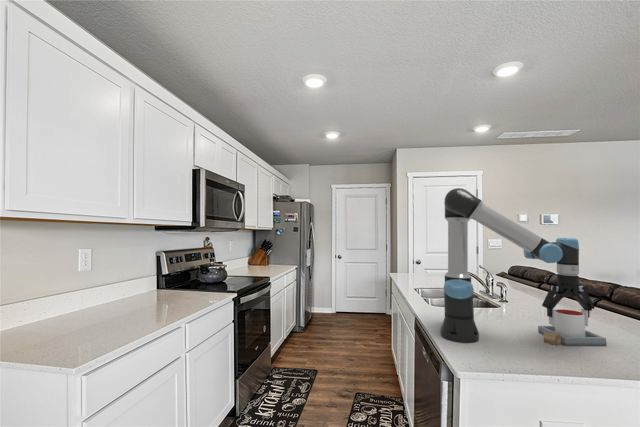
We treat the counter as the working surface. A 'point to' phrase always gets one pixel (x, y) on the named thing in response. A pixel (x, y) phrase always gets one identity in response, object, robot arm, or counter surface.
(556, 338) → the oak block
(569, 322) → the cup
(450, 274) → the robot arm
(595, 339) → the tray
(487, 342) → the counter surface
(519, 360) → the counter surface
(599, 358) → the counter surface
